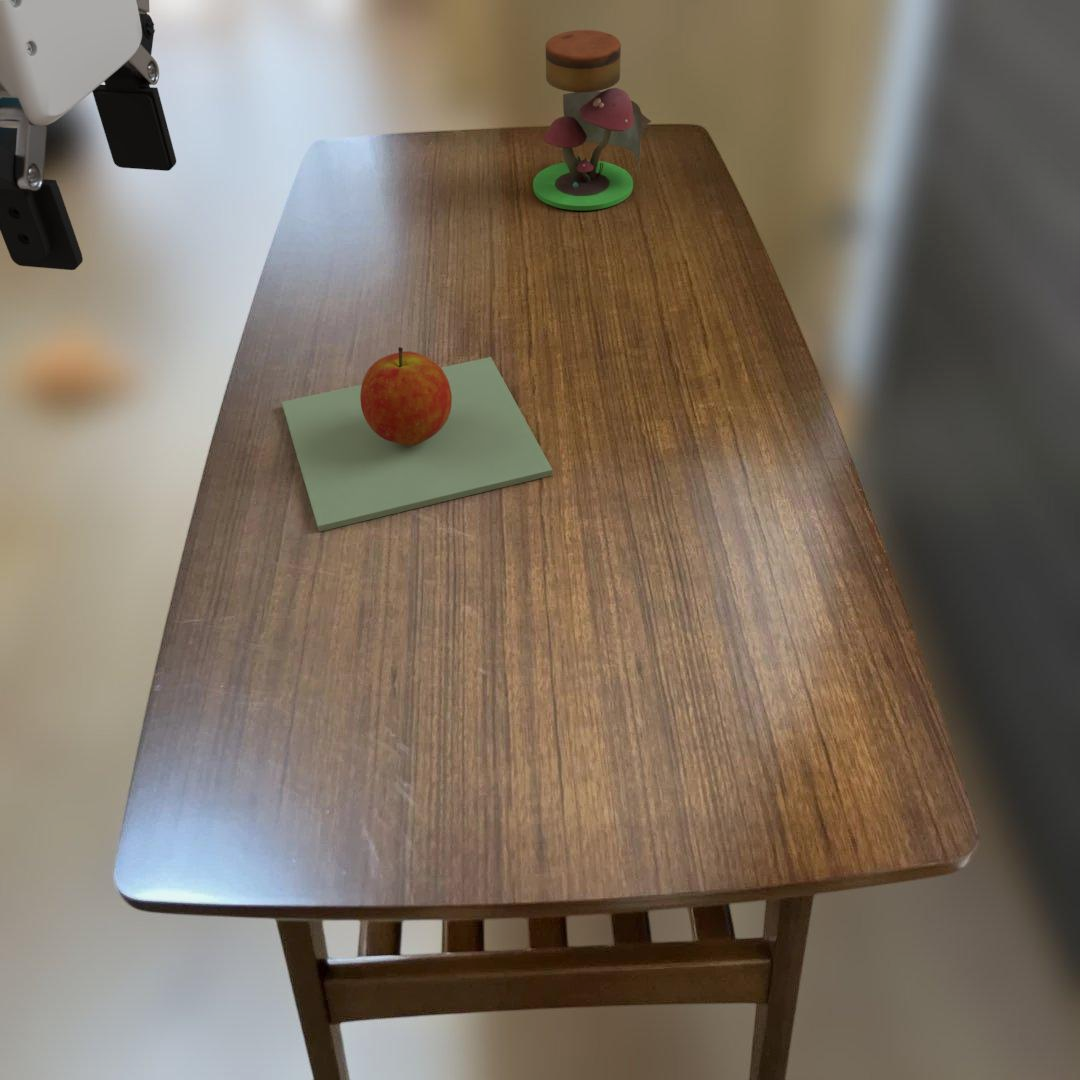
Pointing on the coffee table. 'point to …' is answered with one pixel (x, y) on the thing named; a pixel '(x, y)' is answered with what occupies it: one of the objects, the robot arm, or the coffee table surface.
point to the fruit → (405, 398)
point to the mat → (411, 450)
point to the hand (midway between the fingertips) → (101, 212)
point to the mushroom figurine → (588, 122)
